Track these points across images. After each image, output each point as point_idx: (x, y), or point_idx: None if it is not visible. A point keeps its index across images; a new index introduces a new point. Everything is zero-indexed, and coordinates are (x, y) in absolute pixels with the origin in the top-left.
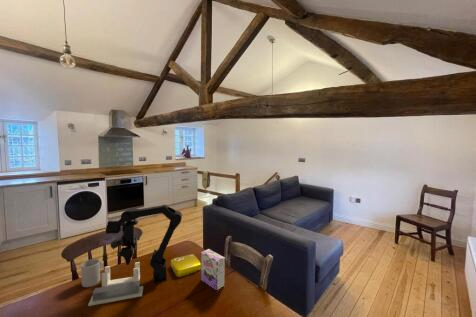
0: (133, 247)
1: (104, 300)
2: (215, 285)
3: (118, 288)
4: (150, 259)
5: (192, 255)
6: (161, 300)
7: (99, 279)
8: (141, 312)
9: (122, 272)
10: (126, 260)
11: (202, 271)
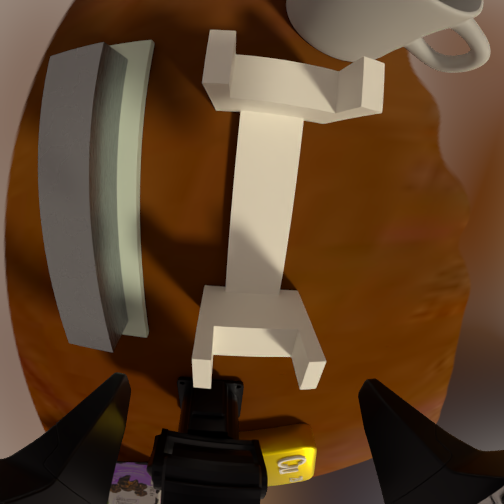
0: (391, 497)
1: None
2: None
3: (47, 227)
4: (177, 488)
5: (295, 481)
6: (61, 373)
7: (335, 52)
8: (9, 309)
9: (386, 205)
10: (68, 430)
11: (151, 489)
